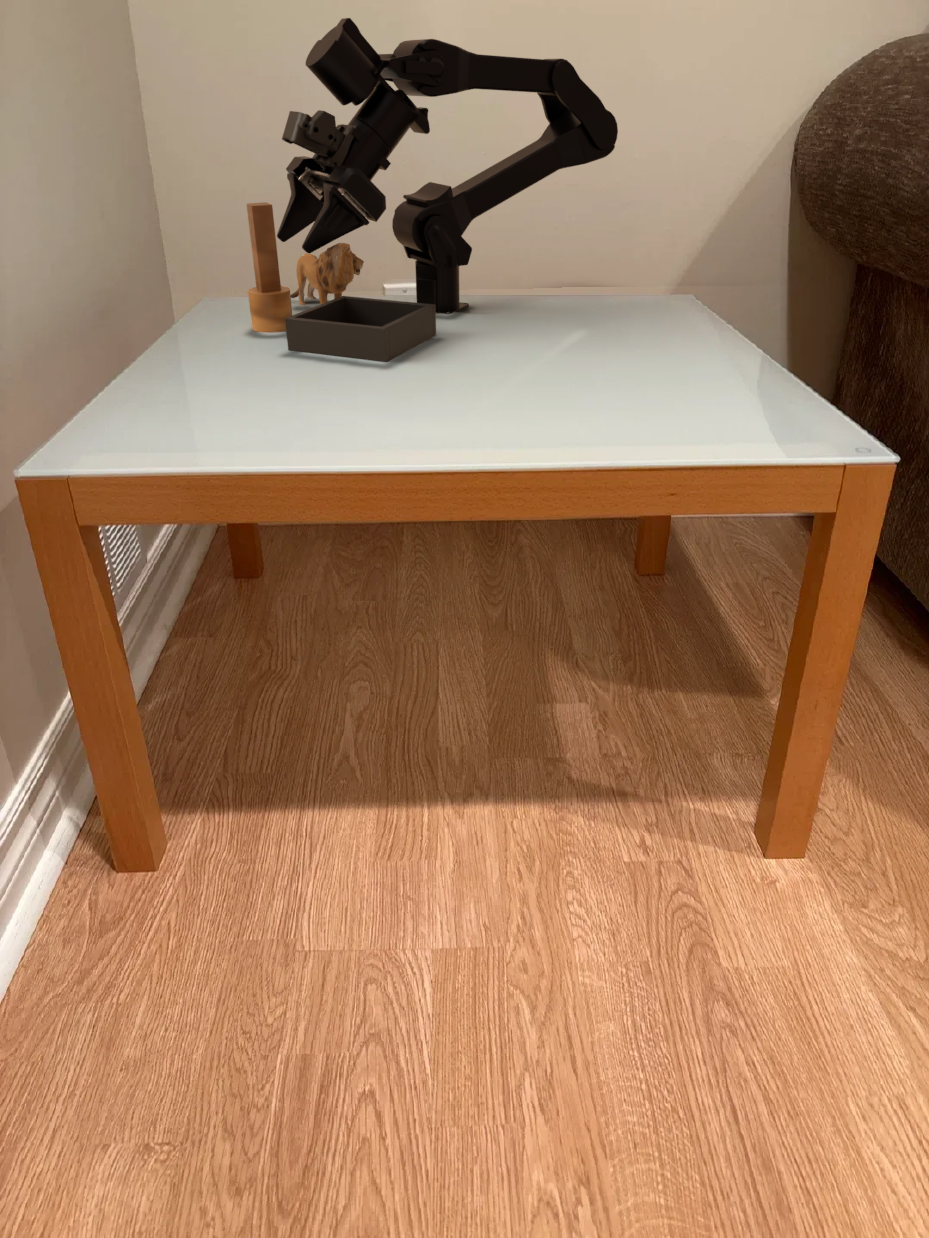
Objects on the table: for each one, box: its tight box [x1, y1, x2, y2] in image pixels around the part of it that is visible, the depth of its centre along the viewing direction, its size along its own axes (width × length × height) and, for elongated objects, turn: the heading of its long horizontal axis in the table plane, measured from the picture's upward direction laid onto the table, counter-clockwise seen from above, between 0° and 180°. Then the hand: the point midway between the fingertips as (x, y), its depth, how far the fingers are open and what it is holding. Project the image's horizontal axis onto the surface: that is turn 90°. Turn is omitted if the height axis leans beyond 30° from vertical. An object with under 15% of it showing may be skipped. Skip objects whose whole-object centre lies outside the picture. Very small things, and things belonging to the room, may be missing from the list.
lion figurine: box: [290, 242, 365, 306], centre depth 121 cm, size 15×5×9 cm, turn 44°
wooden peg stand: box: [246, 202, 293, 333], centre depth 110 cm, size 5×5×14 cm
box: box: [285, 295, 437, 363], centre depth 106 cm, size 13×13×4 cm
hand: (292, 245), depth 110 cm, fingers open, 9 cm apart
